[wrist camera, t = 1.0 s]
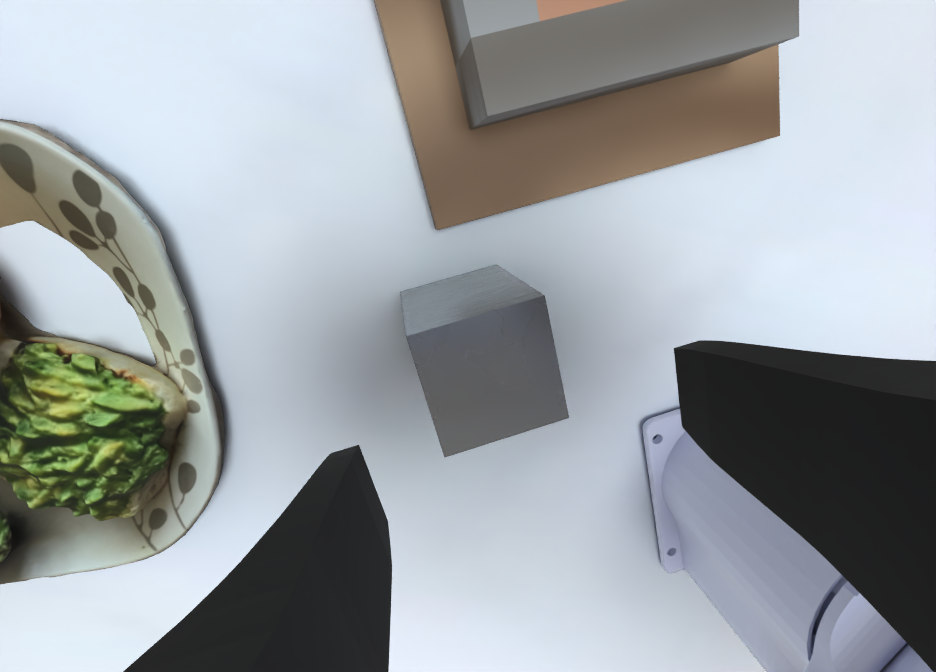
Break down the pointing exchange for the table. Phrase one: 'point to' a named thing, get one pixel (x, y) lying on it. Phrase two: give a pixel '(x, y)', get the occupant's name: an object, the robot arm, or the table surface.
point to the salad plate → (97, 386)
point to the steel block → (483, 357)
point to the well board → (564, 133)
